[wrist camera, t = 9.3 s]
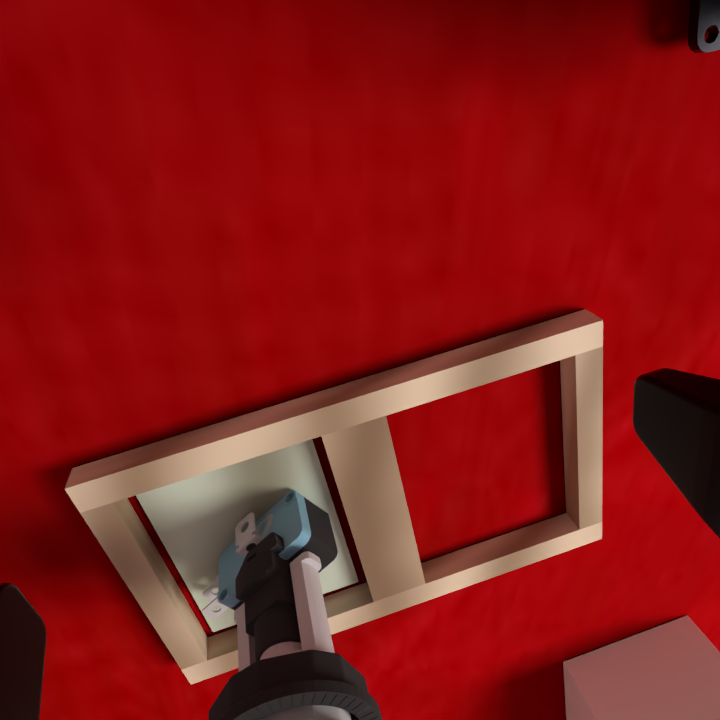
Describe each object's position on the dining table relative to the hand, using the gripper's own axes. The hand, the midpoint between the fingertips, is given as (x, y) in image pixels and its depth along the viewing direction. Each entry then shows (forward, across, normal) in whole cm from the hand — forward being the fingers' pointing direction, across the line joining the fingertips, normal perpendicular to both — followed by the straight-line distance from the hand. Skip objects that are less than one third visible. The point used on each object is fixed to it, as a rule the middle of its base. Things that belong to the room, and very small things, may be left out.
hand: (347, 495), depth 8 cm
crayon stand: (+12, -14, +36) cm, 41 cm away
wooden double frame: (+12, -1, +12) cm, 17 cm away
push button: (+12, +4, +12) cm, 18 cm away
